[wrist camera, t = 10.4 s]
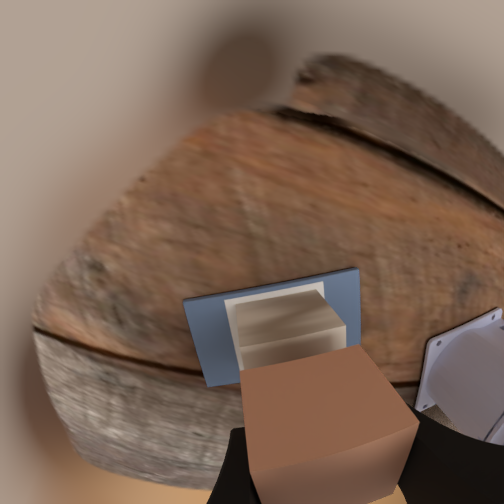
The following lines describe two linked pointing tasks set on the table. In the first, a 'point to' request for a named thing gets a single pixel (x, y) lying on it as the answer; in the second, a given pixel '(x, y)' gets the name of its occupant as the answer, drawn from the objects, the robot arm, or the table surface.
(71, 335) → the table surface
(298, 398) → the terracotta block
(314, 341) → the cream block
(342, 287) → the blue flat board
